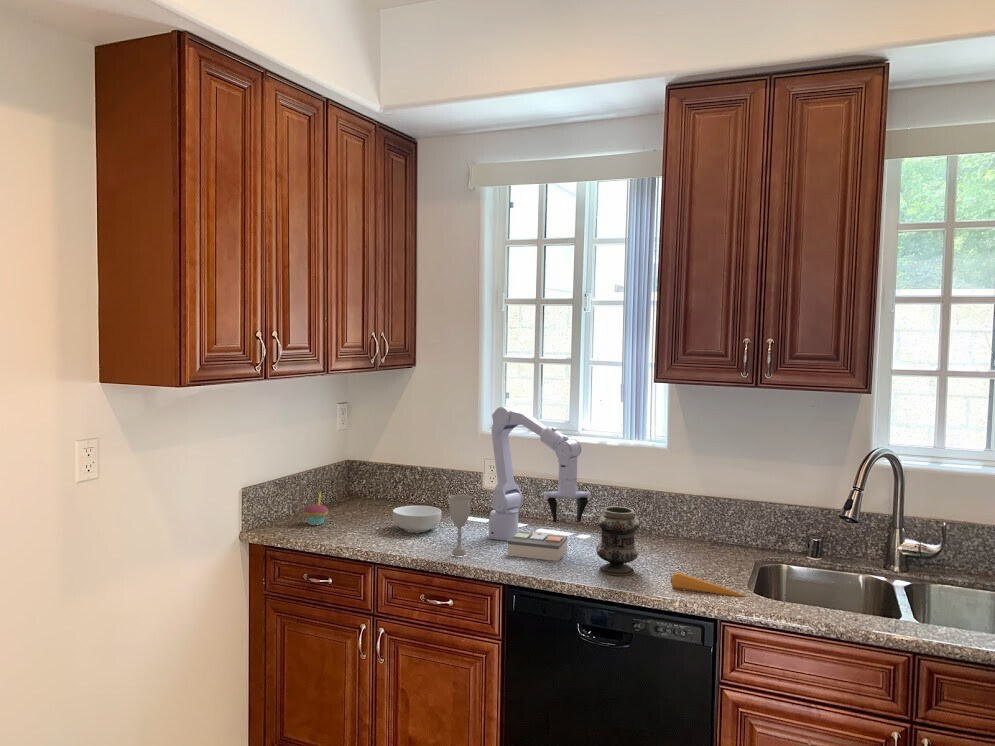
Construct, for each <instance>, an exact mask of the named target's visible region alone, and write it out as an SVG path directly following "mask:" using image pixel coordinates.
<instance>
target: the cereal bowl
mask: <svg viewBox="0 0 995 746" xmlns="http://www.w3.org/2000/svg"><path fill="white" fill-rule="evenodd" d="M441 518H442V510H441V508H438V507H435V506H431V505H404V506H400V507H399V506H398V507H395V508H394V509H393V510H392V521H393V522H394V524H395V525H396V526H397V527H398V528H400V529H402V530H404V531H405V530H406V531H409V532H408V533H410V532H423V533H426V532H428V531H429V530H430V529H433V528H435V527H437V526H438V525H439V523H440V522H441ZM427 530H428V531H427ZM406 531H405V532H406ZM425 531H426V532H425Z"/></svg>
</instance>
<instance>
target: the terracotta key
mask: <svg viewBox="0 0 995 746" xmlns="http://www.w3.org/2000/svg"><path fill="white" fill-rule="evenodd" d="M561 541H562V537H552V536H549V537H548V538H547V539H546V542H556V543H561Z"/></svg>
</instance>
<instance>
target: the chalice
mask: <svg viewBox="0 0 995 746" xmlns="http://www.w3.org/2000/svg"><path fill="white" fill-rule="evenodd" d="M448 499H449V514H450V515H449V516H450V518H451V520H452V522H453V524H454V526H455V527H457V533H456V535H457V538H456V540H457V545H456V546H455V547H454V548H453V549H452V552H451V554H452V555H454V556H464V555H467V556H468V553H467V551H466V548H465V547H464V546H462V541H463V538H462V534H463V533H462V528H463V527H464V526H465V525H466V523H467V521H468V519H469V516H470V514H471V500H472V495H469V494H451V495H448Z"/></svg>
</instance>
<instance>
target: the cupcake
mask: <svg viewBox="0 0 995 746" xmlns="http://www.w3.org/2000/svg"><path fill="white" fill-rule="evenodd" d="M321 497H322V490H320V491H319V494H318V502H317V503H313V504H311V505H308V506H306V508H304V509H303V516H304V517H305V518H306V520H307V522H308V525H309V524H321V523H323V524H324V522H325V520H326V519H325V518H326V517H327V516H328V514H329V509H328V508H327V506H326V505H324V504H321Z"/></svg>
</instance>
